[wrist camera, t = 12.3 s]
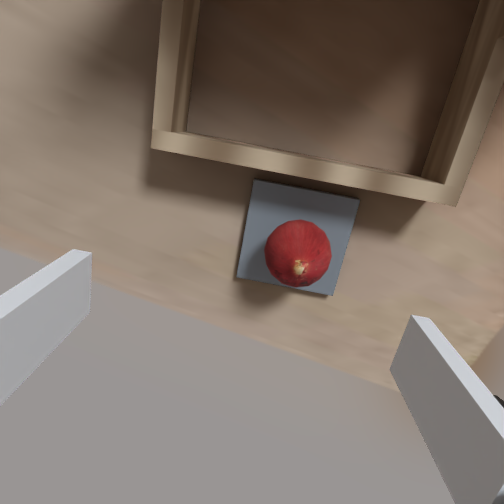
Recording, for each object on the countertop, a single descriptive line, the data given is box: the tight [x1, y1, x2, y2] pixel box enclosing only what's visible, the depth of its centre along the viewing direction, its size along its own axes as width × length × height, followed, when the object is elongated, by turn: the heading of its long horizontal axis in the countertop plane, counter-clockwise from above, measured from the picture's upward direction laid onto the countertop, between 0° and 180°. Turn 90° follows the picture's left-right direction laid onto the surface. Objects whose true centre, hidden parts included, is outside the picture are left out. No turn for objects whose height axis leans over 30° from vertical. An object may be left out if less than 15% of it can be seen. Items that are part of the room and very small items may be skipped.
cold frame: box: [151, 0, 504, 207], centre depth 26 cm, size 25×19×8 cm
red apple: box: [264, 219, 332, 287], centre depth 31 cm, size 6×6×8 cm
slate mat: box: [237, 178, 360, 296], centre depth 35 cm, size 10×10×1 cm
